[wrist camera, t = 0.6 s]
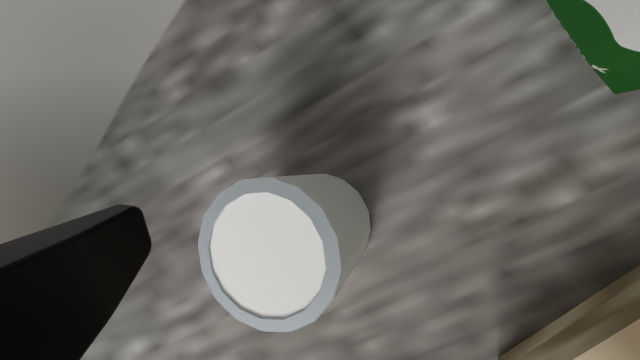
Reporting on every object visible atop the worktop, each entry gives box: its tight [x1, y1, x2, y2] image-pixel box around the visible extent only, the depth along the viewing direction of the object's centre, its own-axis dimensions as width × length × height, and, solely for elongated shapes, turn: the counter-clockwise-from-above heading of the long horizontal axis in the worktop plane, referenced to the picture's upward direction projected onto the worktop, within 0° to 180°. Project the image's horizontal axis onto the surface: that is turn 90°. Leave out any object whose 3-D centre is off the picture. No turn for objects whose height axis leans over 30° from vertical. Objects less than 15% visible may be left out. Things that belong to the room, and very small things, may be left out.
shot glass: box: [198, 174, 371, 332], centre depth 24 cm, size 7×7×7 cm
